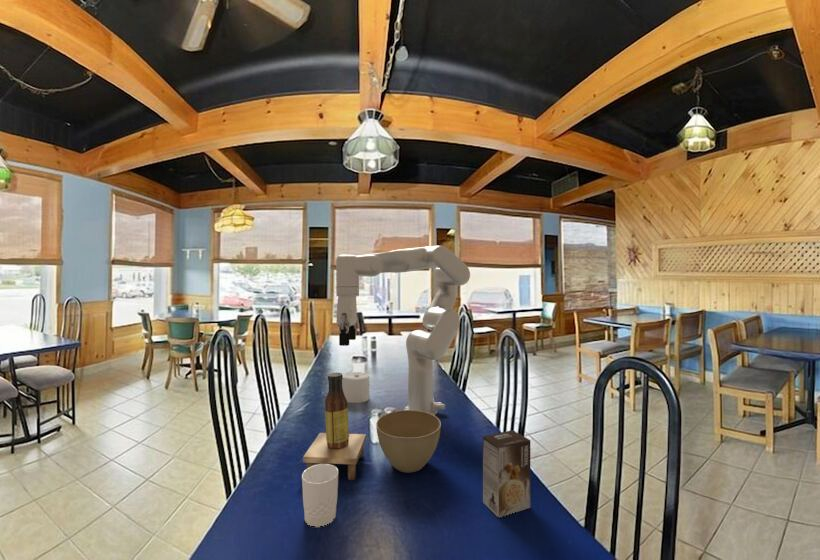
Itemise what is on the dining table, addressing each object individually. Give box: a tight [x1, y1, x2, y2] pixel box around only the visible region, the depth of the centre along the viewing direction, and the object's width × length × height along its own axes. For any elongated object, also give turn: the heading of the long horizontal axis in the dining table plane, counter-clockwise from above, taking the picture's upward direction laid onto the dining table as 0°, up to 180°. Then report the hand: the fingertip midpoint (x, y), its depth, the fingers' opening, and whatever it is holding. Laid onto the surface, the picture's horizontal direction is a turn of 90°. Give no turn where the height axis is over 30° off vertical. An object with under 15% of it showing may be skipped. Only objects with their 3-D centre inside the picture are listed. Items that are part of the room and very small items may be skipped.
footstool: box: [302, 432, 367, 481], centre depth 102 cm, size 14×14×6 cm
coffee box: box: [482, 429, 531, 519], centre depth 85 cm, size 9×6×16 cm
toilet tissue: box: [342, 371, 370, 404], centre depth 155 cm, size 11×12×10 cm
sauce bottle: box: [324, 372, 350, 449], centre depth 102 cm, size 6×6×20 cm
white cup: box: [301, 463, 339, 528], centre depth 81 cm, size 8×8×10 cm
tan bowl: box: [375, 409, 442, 474], centre depth 103 cm, size 18×18×12 cm
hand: (347, 342), depth 124 cm, fingers open, 9 cm apart
